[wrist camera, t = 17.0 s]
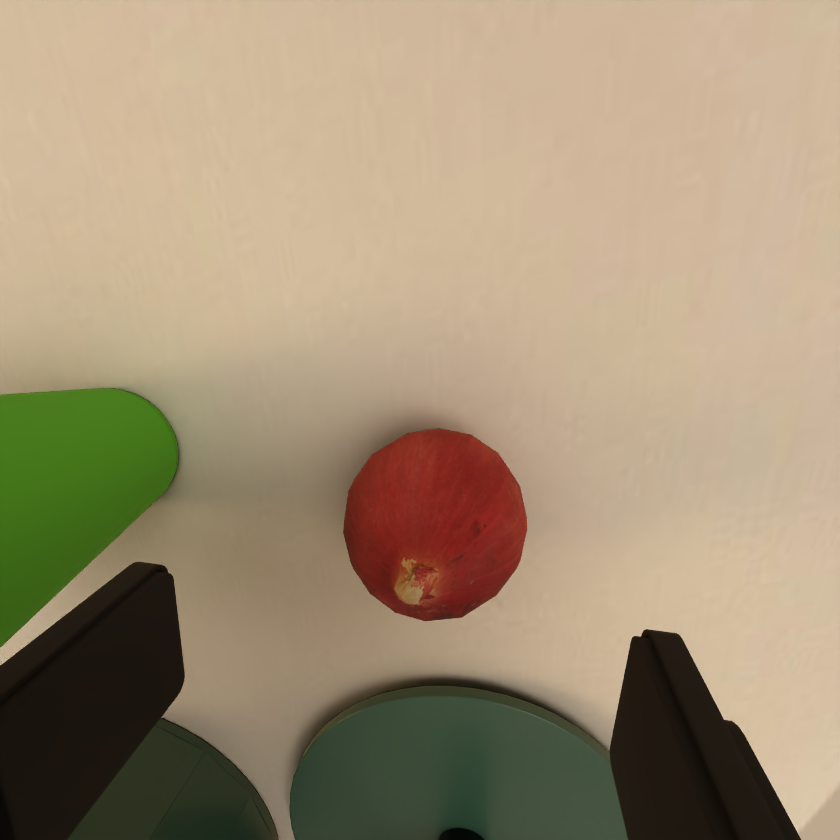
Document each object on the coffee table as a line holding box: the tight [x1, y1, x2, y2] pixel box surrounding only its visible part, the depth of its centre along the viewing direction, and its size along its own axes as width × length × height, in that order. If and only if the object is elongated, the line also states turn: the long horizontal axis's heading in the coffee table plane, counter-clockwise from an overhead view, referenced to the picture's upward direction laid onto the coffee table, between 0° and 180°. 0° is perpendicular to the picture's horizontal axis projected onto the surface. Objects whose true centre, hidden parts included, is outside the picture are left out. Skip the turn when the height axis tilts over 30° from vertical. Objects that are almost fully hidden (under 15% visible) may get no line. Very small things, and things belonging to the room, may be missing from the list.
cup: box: [0, 388, 179, 647], centre depth 16 cm, size 9×9×11 cm
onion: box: [343, 428, 527, 621], centre depth 15 cm, size 6×6×8 cm
